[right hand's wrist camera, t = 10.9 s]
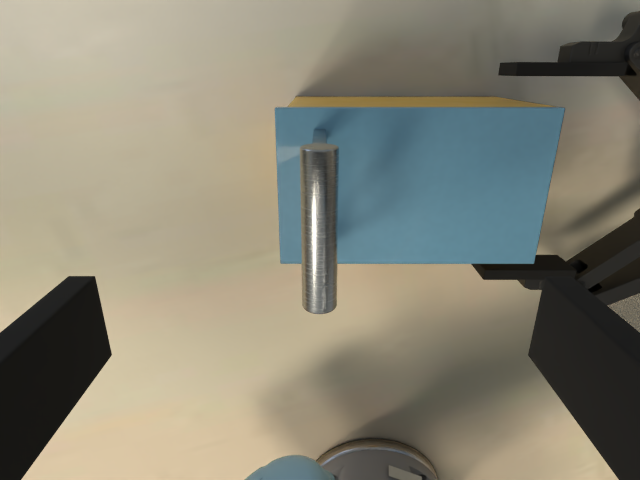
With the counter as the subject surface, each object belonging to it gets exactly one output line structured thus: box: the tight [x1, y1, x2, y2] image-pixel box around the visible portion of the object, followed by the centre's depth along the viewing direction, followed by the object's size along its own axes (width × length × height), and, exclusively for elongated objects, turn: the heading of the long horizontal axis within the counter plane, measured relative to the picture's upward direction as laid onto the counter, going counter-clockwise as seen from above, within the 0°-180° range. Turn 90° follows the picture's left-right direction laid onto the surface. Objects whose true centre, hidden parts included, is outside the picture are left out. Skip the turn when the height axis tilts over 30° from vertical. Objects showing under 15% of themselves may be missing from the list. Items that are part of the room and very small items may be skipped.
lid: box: [275, 107, 565, 314], centre depth 23 cm, size 16×10×8 cm, turn 90°
